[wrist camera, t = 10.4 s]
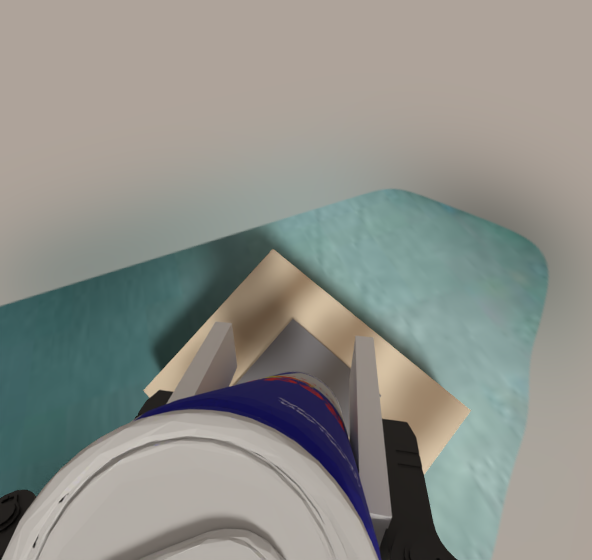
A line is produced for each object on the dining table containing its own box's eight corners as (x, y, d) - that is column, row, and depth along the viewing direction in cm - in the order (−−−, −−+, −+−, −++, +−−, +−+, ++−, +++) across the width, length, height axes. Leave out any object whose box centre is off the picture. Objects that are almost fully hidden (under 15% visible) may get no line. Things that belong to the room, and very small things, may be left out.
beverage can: (362, 426, 18) (517, 706, 3) (290, 497, 17) (98, 1202, 3) (298, 351, 19) (212, 322, 5) (230, 415, 19) (-104, 598, 4)
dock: (167, 386, 29) (141, 390, 25) (279, 262, 31) (272, 247, 27) (330, 562, 24) (331, 603, 20) (449, 403, 27) (472, 410, 22)
